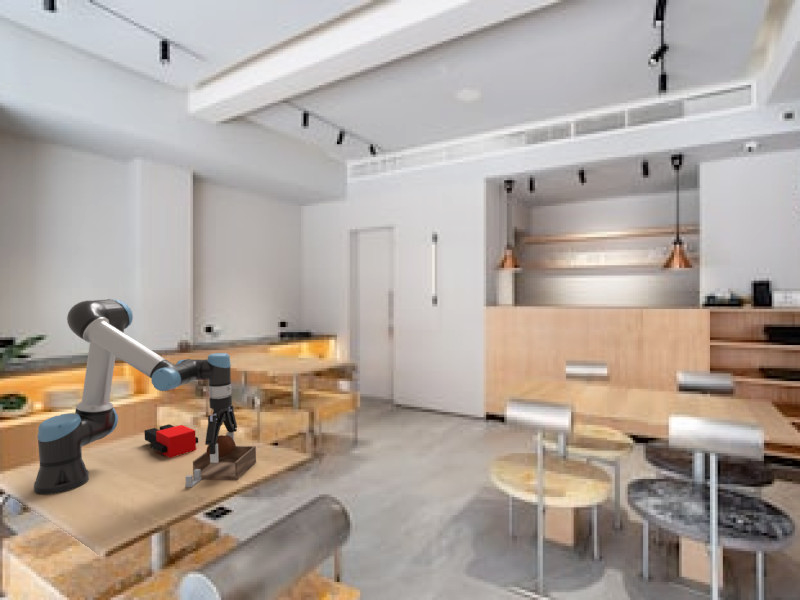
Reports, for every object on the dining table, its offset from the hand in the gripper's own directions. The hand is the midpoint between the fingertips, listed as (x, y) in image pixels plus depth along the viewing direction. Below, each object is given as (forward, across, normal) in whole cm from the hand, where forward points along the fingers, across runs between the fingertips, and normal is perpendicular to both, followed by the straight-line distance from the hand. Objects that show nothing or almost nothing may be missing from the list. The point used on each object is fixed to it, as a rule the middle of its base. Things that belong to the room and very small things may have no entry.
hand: (222, 455), depth 159 cm
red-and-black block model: (+6, +23, +36) cm, 43 cm away
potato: (0, 0, 0) cm, 0 cm away
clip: (+6, -9, +6) cm, 12 cm away
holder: (+6, +2, 0) cm, 7 cm away
